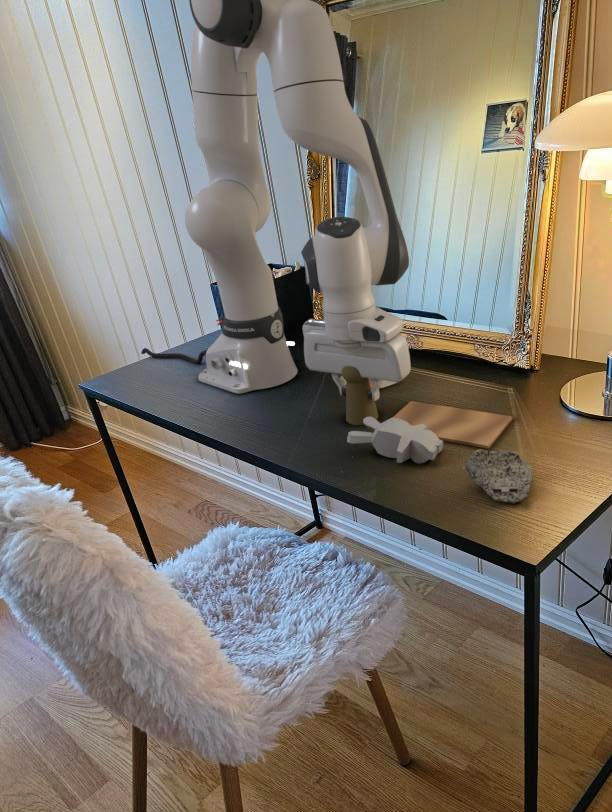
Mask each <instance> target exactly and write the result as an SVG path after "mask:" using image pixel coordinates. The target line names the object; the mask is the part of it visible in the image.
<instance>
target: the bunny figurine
mask: <svg viewBox="0 0 612 812" xmlns="http://www.w3.org/2000/svg"><path fill="white" fill-rule="evenodd" d="M363 423H364V424H365V425H364V426H366V427H368V428H370V429H372V430H374V431H373V432H369V431H360V430H351V431H349V432H348V434H347V438H346V442H347V443H348V444H368V443H371V444H372V446H373V448H374V449H375V451H376V453H377V454H379V455H381V456H383V457H386V458H391V459H396V463H399V464H402V463H403V462H405V461H407V460H409V459H411V460H412V461H413V462H414V463H416V464H424V463H426V462H428V461H429V460H430V461H434V459H435V458H436V457H437V455H439V454H440V452H442V450H443V448H444V447H443V446H444V441H443V440H440V439H439V438H438V437H437V435H436V434H435V433H433V432H432V431H431V430H427V426H426V425H424V424H420V425H416V426H411V425H410V424H409V423H408V422H406V421H404V420H402V419H398V418H393V417H391V418H388V419H386V420H385V421H382V422H380V421H378V419H377V420H376V419H374V418H373V417H366V418H364V420H363Z"/></svg>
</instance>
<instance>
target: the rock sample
mask: <svg viewBox="0 0 612 812" xmlns="http://www.w3.org/2000/svg"><path fill="white" fill-rule="evenodd" d="M462 469H463V470H465V471H466V473H467V474H468V475H469V478H470V479H471V481H473V482H474V483H475V484H477V485H478V486H479V487H481V488H482V489H483V491H484V493H486V494H487V495H488V496H489V497H490V498H492V500H494V501H497V502H502V503H510V504H517V503H519V502H521V501H523V500H524V499H526V498H528V497H529V495H530V488H531V486H530V485H531V484H532V483H534V481H533V478H532V477H533V476H534V475H535V474H534V473H535V471H533V467H532V466H531V464H530V463H529V462H528V461H527V459H525V458H522V457H521V456H520V453H519V452H518V451H514V450H505V449H497V450H491V451H490V450H486V449H482V448H479V449H476V450H475V451H473V452H472V453H471V454H470V456H469V457H468V459H467V460H466V461H465V464H464V465H463V467H462ZM535 483H537V482H535Z"/></svg>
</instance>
